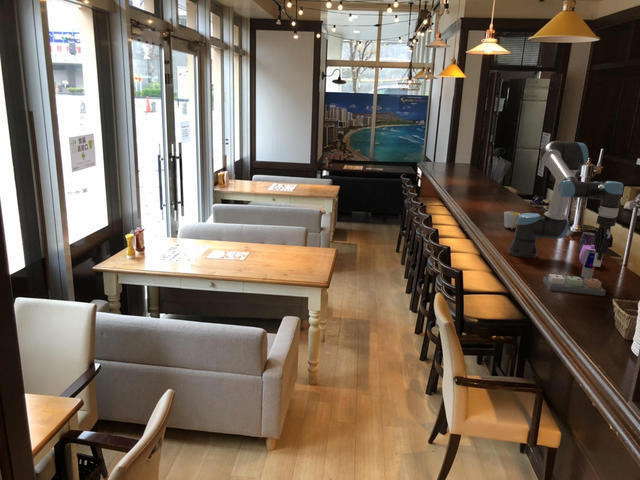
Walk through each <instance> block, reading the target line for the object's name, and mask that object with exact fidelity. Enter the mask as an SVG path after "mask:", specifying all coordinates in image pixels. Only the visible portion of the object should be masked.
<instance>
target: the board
mask: <svg viewBox="0 0 640 480" xmlns="http://www.w3.org/2000/svg"><path fill="white" fill-rule="evenodd" d="M548 277H549V276H543V279H542V282H543V283H544V285H545V286H546V287H547V289H548V291H554V292H555V291H556V292H565V293H573V294H583V295H584V294H585V295H591V296H592V295H593V296H601V297H605V296H606V292H607V291H606V290H605V288H603V287H602V286H601V288H600V289H599V288H590V287H586V286H585V285H584V284H583V285H582V287H580V286H571V285H568V284H567V283H566V278H564V279H565V282H564V285H562V284H553V283H550V282H549V280H548ZM583 283H584V280H583Z"/></svg>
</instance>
